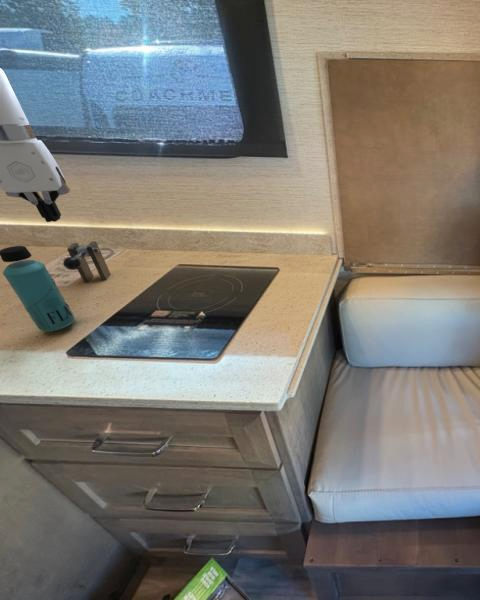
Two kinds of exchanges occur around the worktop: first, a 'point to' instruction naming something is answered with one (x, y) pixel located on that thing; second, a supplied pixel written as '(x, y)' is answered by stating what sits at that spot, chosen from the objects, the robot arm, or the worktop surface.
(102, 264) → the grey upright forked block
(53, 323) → the beverage bottle
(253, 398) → the worktop surface
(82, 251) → the tap lever
